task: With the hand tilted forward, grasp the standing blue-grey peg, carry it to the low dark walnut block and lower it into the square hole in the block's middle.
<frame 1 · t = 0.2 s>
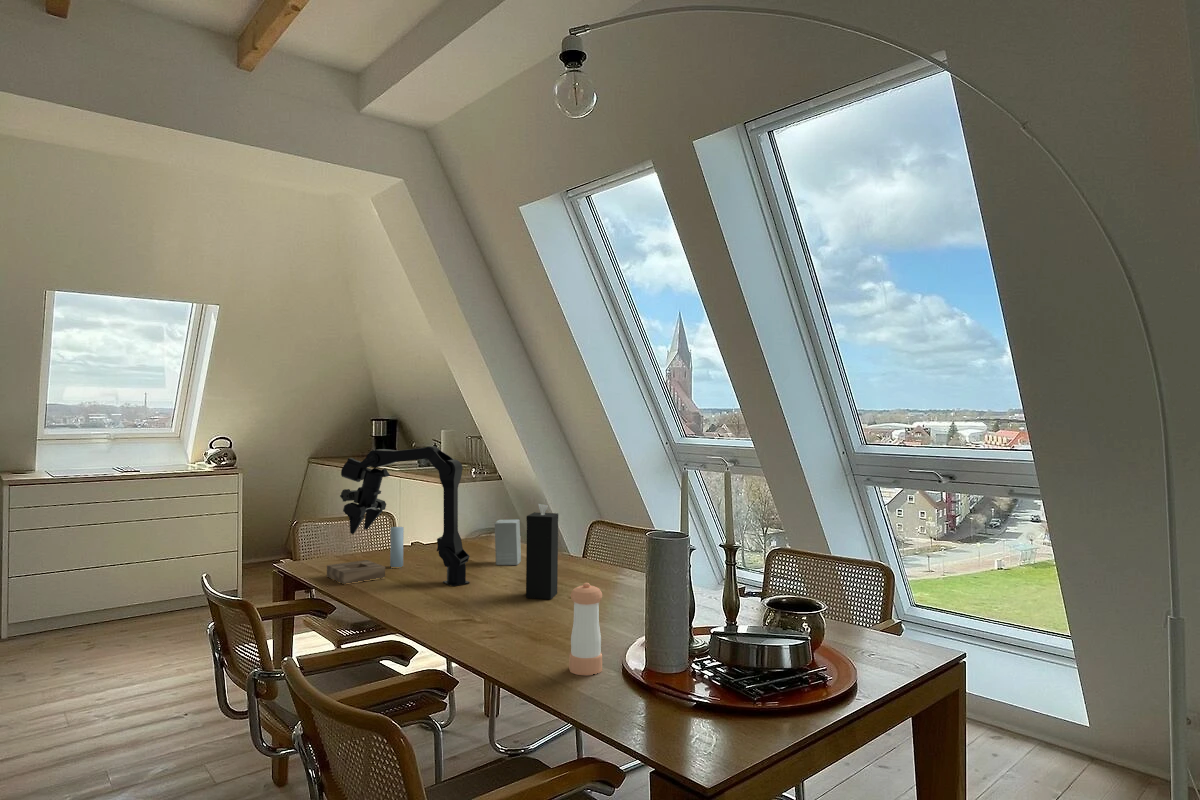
hand: (358, 531, 257), 15 cm above the table, tool tilted 15°, fingers open, 9 cm apart
skincare box: (507, 564, 281), on the table
socket block: (355, 578, 256), on the table
salt shaker: (585, 670, 171), on the table
tissue box: (541, 596, 236), on the table
peg: (396, 567, 273), on the table
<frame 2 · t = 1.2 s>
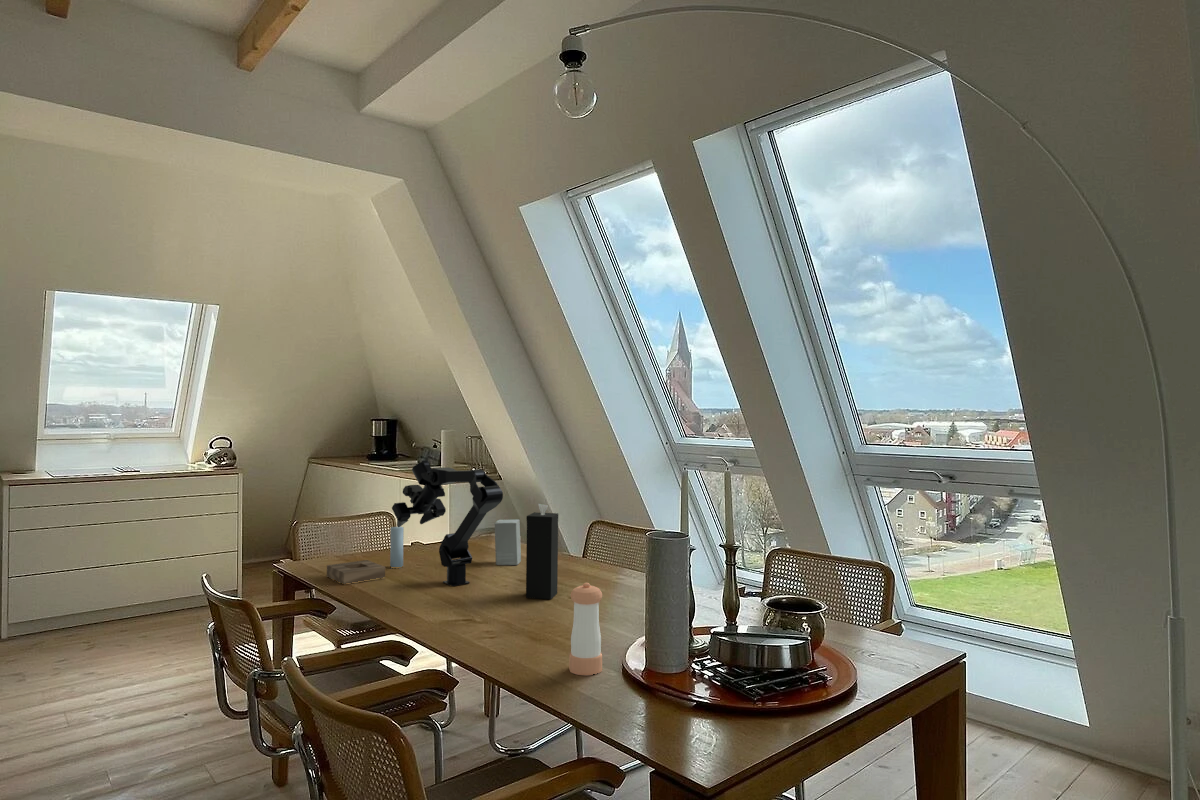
hand: (409, 524, 268), 16 cm above the table, tool tilted 45°, fingers open, 9 cm apart
nothing on the table moved.
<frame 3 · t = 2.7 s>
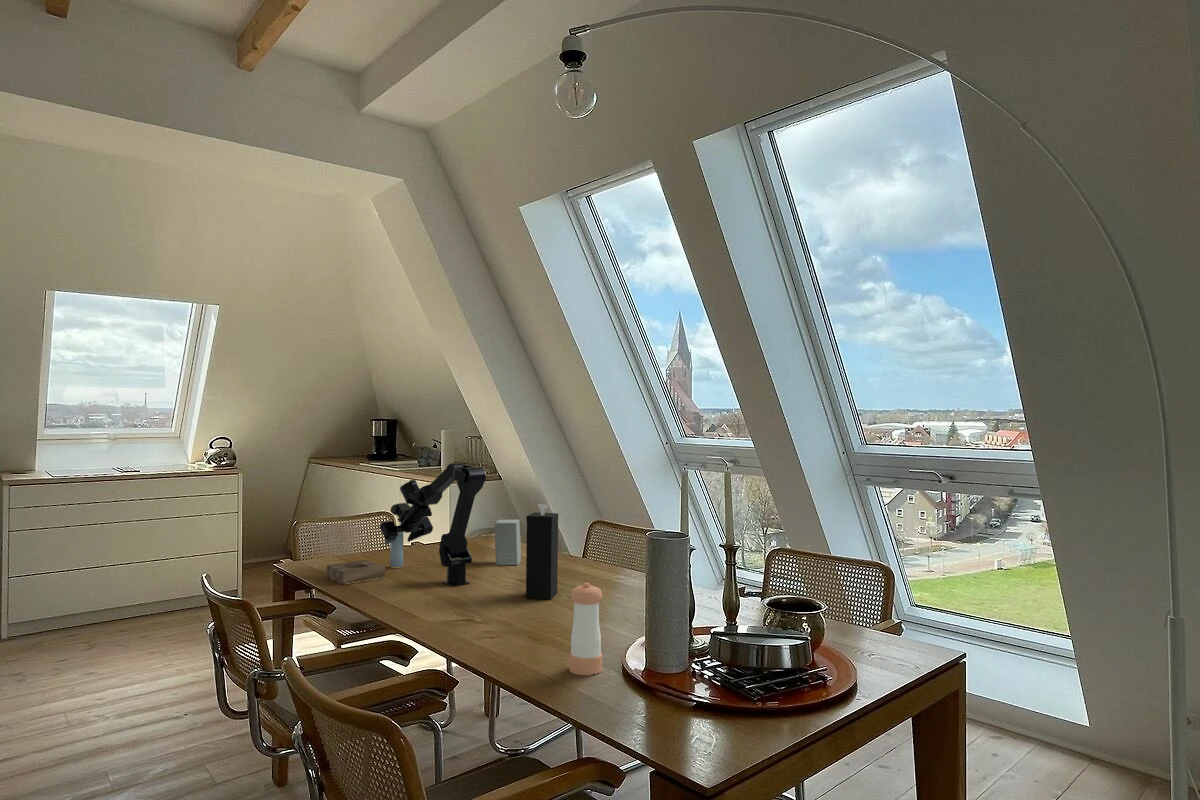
hand: (397, 542, 273), 9 cm above the table, tool tilted 45°, fingers open, 9 cm apart
nothing on the table moved.
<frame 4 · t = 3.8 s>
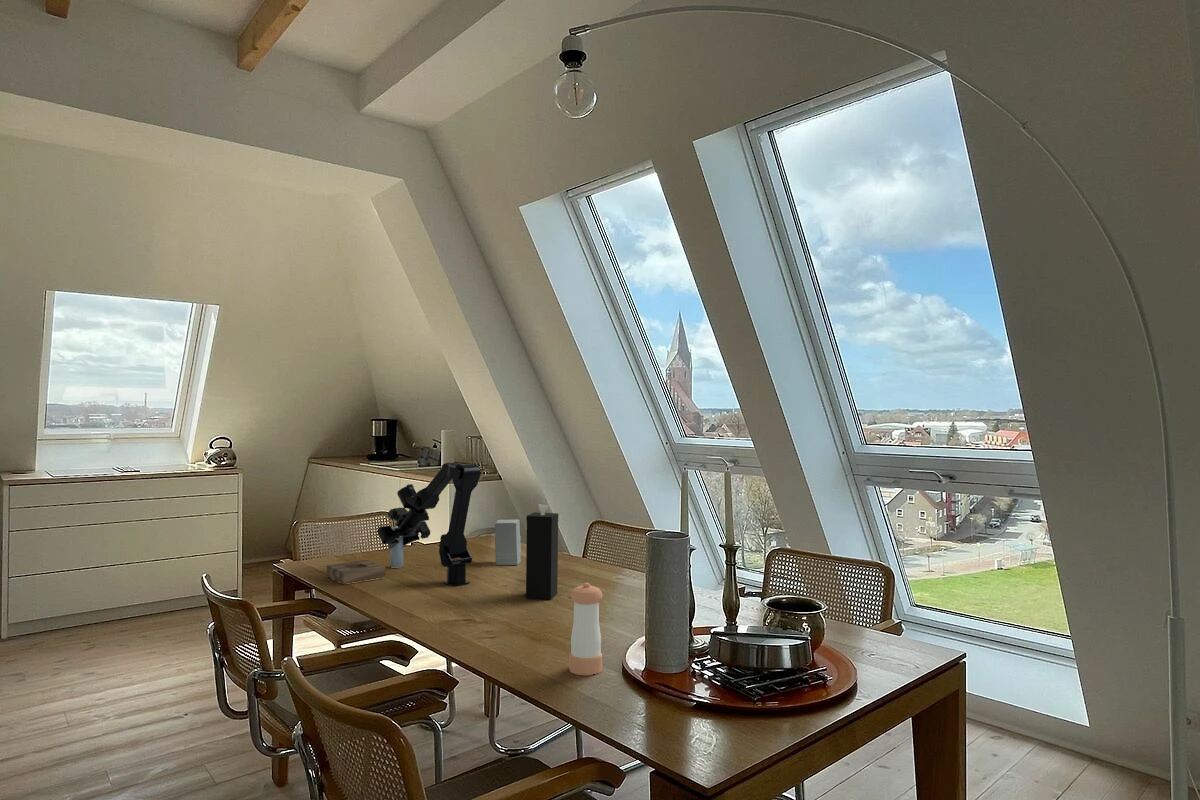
hand: (394, 546, 274), 7 cm above the table, tool tilted 45°, fingers closed on peg, 4 cm apart
peg: (396, 567, 273), on the table, touching gripper
everything else where it was.
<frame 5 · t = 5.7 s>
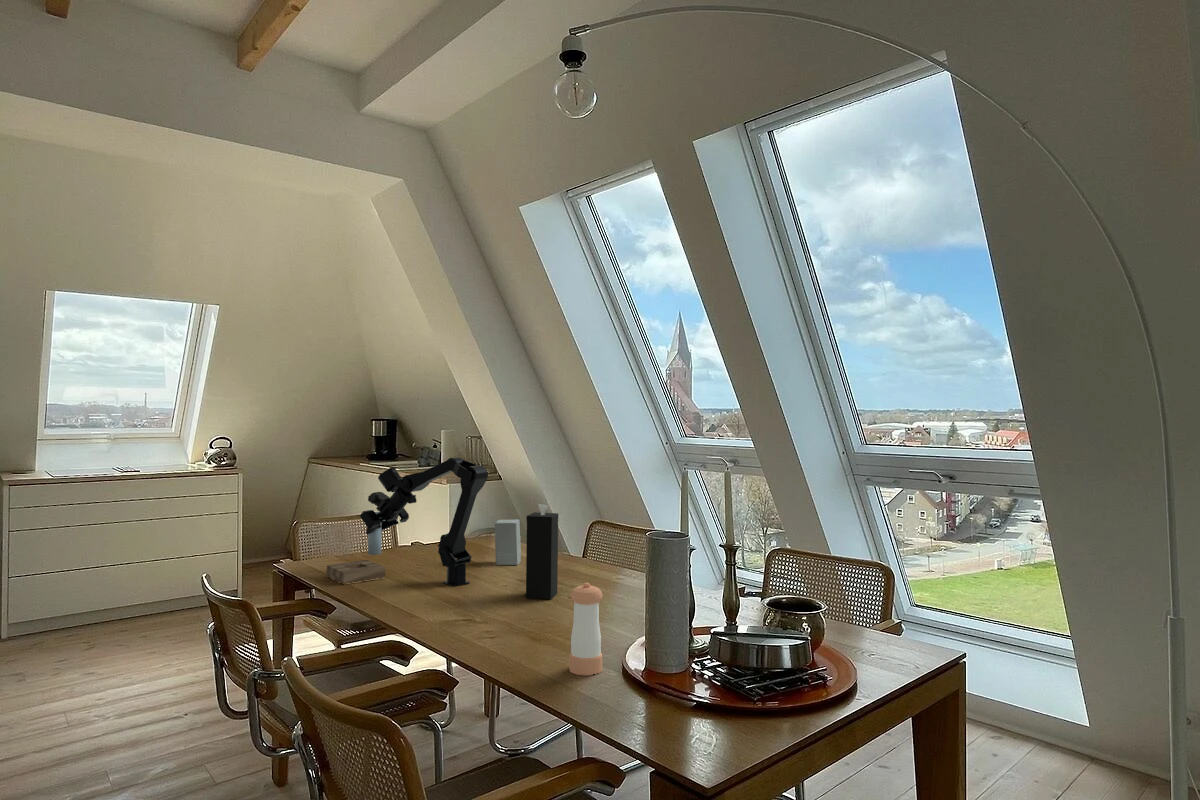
hand: (371, 532, 266), 13 cm above the table, tool tilted 45°, fingers closed on peg, 4 cm apart
peg: (374, 553, 266), point 6 cm above the table, touching gripper
everything else where it was.
when the fingers open (8 cm above the table, at t = 8.0 s): peg drops 1 cm, resting in socket block.
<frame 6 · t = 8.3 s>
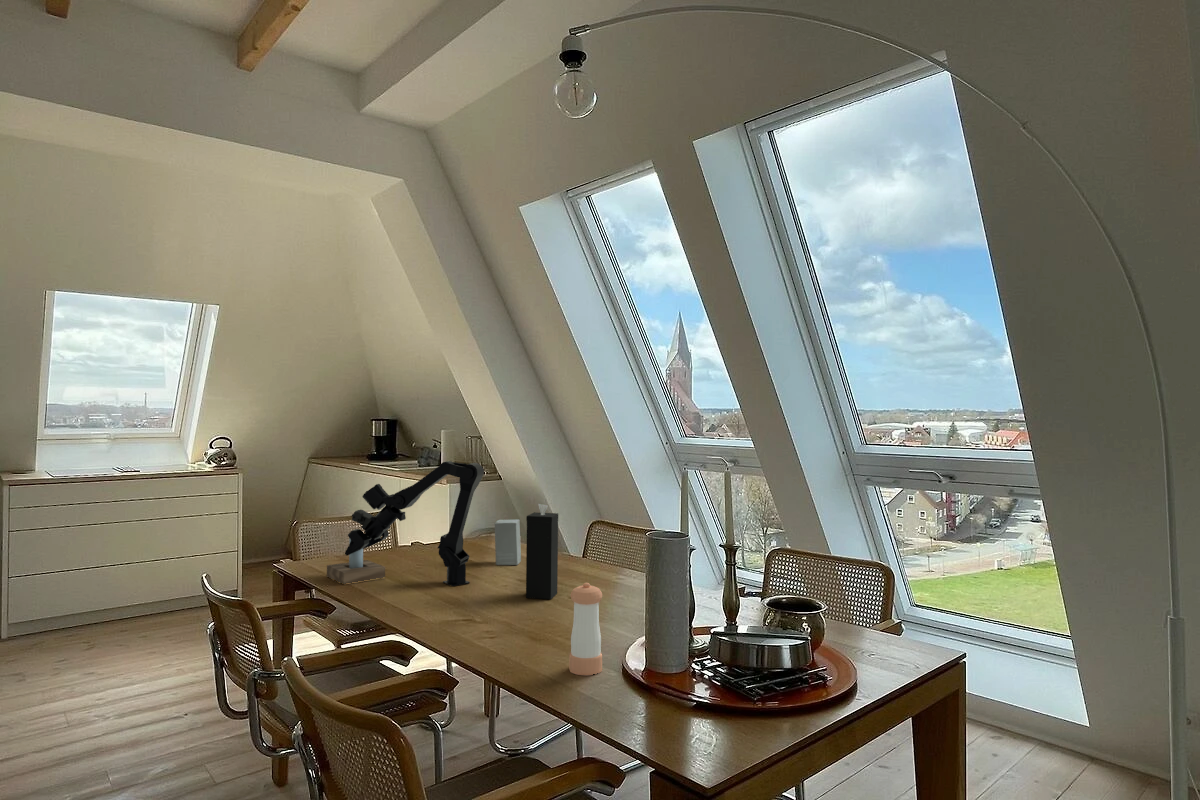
hand: (352, 552, 257), 9 cm above the table, tool tilted 45°, fingers open, 8 cm apart
peg: (355, 578, 256), resting in socket block
everything else where it was.
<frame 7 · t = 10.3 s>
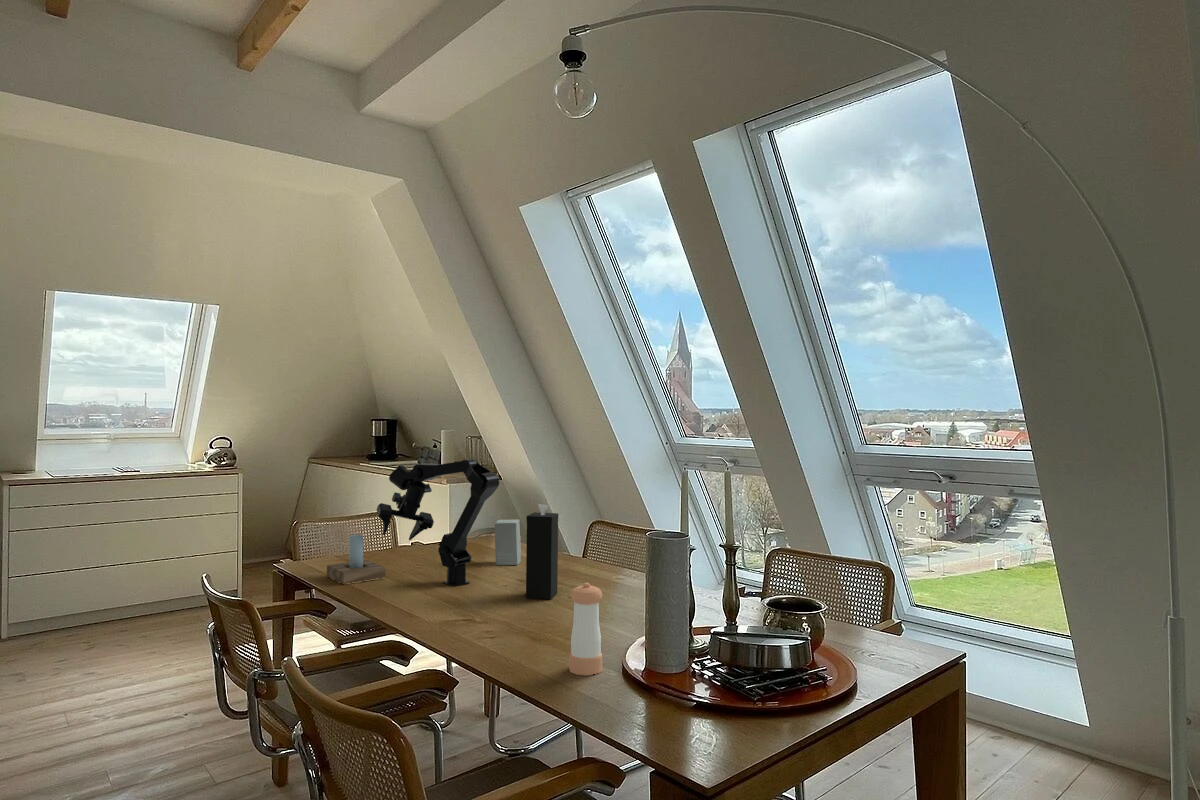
hand: (396, 537, 262), 13 cm above the table, tool tilted 25°, fingers open, 9 cm apart
nothing on the table moved.
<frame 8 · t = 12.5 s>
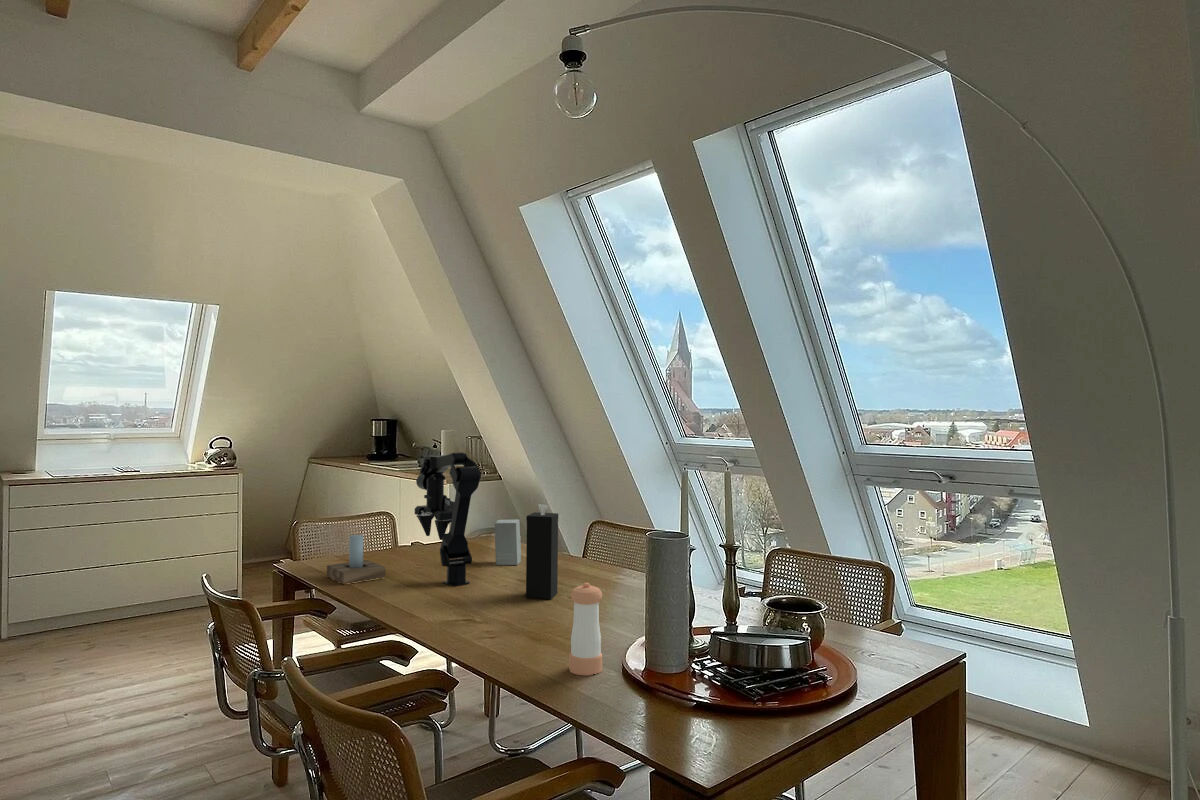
hand: (434, 537, 265), 12 cm above the table, tool pointing down, fingers open, 9 cm apart
nothing on the table moved.
at the end: peg 0.1 cm off-centre on the socket block, point 0.0 cm above the socket block's base; peg tilted 0°; the gripper is holding nothing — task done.
